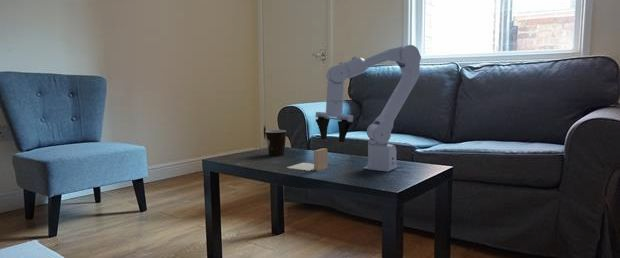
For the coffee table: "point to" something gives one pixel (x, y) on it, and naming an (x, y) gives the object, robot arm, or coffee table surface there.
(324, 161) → the tile
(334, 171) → the coffee table surface
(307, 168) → the felt mat
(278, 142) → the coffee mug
